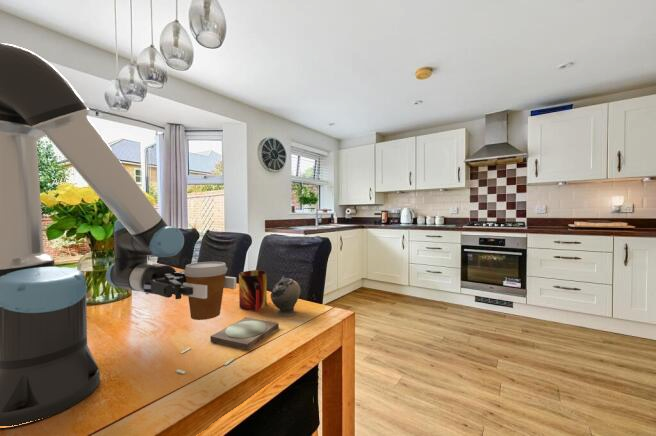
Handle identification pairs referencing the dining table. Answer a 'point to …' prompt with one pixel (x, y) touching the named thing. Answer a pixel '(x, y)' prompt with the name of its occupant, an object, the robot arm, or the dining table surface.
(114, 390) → the dining table surface
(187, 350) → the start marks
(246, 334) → the board
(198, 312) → the disposable coffee cup
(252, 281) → the mug
